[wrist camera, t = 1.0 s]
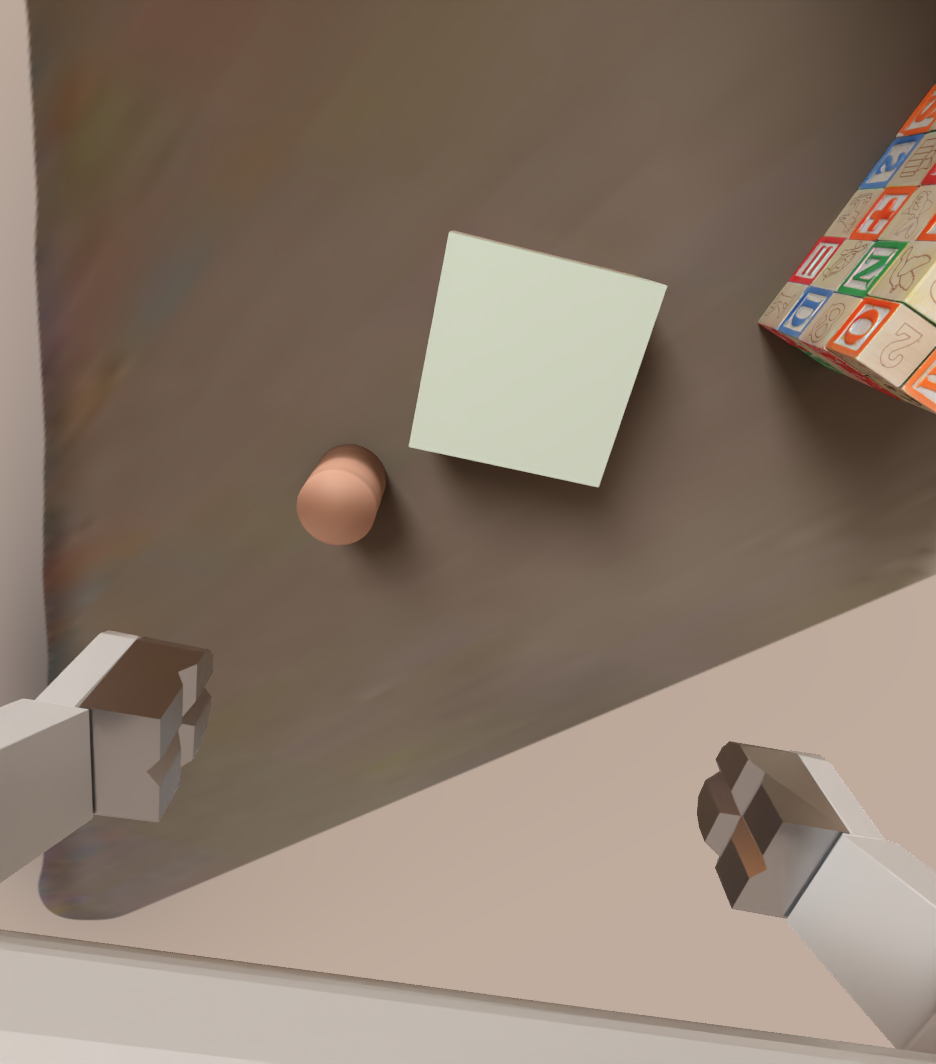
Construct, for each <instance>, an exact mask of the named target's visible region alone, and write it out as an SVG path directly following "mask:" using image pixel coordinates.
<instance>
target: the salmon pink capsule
mask: <svg viewBox="0 0 936 1064" xmlns="http://www.w3.org/2000/svg"><path fill="white" fill-rule="evenodd" d="M385 487H386V472H385V469H384V466H383V464H382V463H381V461H380V460H379V458H378V457H377V456H376V455H375V454H374V453H372V452H371V451H369V450H368V449H366V448H364V447H361V446H358V445H349V444H347V445H340V446H337V447H334V448H333V449H331V450H329V451H328V452H327V453H326V454H325V455H324V456H323V457H322V459H321V460H320V462H319V463H318V465H317V466H316V468H315V469H314V471H313V472H312V474H311V476H310V477H309V479H308V480H307V482H306V483H305V485H304V486H303V488H302V489H301V491H300V493H299V495H298V499H297V513H298V517H299V519H300V522H301V523H302V525H303V527H304V528H305V529H306V530H307V531H308V532H309V533H310V534H311V535H312V536H313V537H315V538H316V539H318V540H320V541H322V542H325V543H328V544H332V545H347V544H351V543H354V542H356V541H358V540H360V539H362V538H363V537H364V536H365V535H366V534H367V533H368V532H369V531H370V529H371V527H372V525H373V523H374V520H375V517H376V514H377V511H378V508H379V505H380V502H381V499H382V496H383V493H384V490H385Z"/></svg>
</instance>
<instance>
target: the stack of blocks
mask: <svg viewBox="0 0 936 1064" xmlns="http://www.w3.org/2000/svg"><path fill="white" fill-rule="evenodd" d="M758 324H760V325H761V326H763V327H764V328H766V329H767V330H769V331H770V332H772V333H773V334H775V335H776V336H778V337H780V338H781V339H783V340H784V341H786V342H787V343H789V344H790V345H793V346H795V347H796V348H798V349H799V350H801V351H802V352H804V353H805V354H807V355H808V356H810V357H811V358H813V359H814V360H816V361H817V362H819V363H820V364H822V365H823V366H824V367H826V368H828V369H831V370H833V371H835V372H838V373H840V374H843V375H845V376H848V377H850V378H852V379H855V380H857V381H859V382H861V383H864V384H866V385H868V386H870V387H872V388H875V389H876V390H878V391H880V392H882V393H885V394H888V395H890V396H892V397H895V398H897V399H898V400H901V401H903V402H909V403H911V404H913V405H916V406H918V407H920V408H923V409H925V410H927V411H930V412H932V413H934V414H936V84H935V85H934V86H933V87H932V88H931V89H930V91H929V92H928V93H927V95H926V96H925V97H924V99H923V100H922V101H921V103H920V104H919V105H918V107H917V108H916V109H915V111H914V112H913V113H912V115H911V116H910V117H909V119H908V120H907V121H906V123H905V124H904V125H903V127H902V128H901V129H900V131H899V132H898V133H897V135H896V139H895V140H894V141H893V142H892V144H891V145H890V146H889V147H888V149H887V150H886V152H885V153H884V154H883V156H882V157H881V158H880V160H879V161H878V162H877V164H876V165H875V166H874V168H873V169H872V171H871V172H870V173H869V175H868V176H867V177H866V179H865V180H864V181H863V183H862V184H861V185H860V187H859V189H858V191H857V192H856V193H855V194H854V195H853V197H852V198H851V199H850V201H849V202H848V203H847V205H846V206H845V207H844V209H843V210H842V212H841V213H840V214H839V216H838V217H837V218H836V220H835V221H834V222H833V224H832V225H831V226H830V228H829V229H828V231H827V232H826V233H825V235H824V236H823V237H821V238H820V240H819V241H818V242H817V244H816V245H815V246H814V247H813V249H812V250H811V252H810V253H809V254H808V256H807V257H806V258H805V260H804V261H803V262H802V264H801V265H800V266H799V268H798V269H797V270H796V272H795V273H794V274H793V276H792V277H791V278H790V280H789V282H788V283H787V284H786V285H785V286H784V287H783V289H782V290H781V291H780V293H779V294H778V295H777V297H776V298H775V299H774V301H773V302H772V303H771V305H770V306H769V307H768V309H767V310H766V311H765V313H764V314H763V315H762V317H761V318H760V319H759V321H758Z"/></svg>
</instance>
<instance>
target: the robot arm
mask: <svg viewBox="0 0 936 1064" xmlns="http://www.w3.org/2000/svg"><path fill="white" fill-rule="evenodd" d="M212 673H213V654H212V652H211V651H210V650H208V649H203V648H198V647H193V646H188V645H183V644H178V643H173V642H168V641H163V640H158V639H153V638H148V637H140V636H136V635H130V634H125V633H120V632H114V631H106V632H103V633H100V634H99V635H98V636H97V637H96V638H95V639H94V640H93V641H92V642H91V643H90V644H89V645H88V646H87V647H86V648H85V649H84V650H83V651H82V652H81V653H80V654H79V655H78V656H77V657H76V658H75V659H74V660H73V661H72V662H71V663H70V664H69V665H68V666H67V667H66V669H65V670H64V671H63V672H62V673H61V674H60V675H59V676H58V677H57V678H56V679H55V680H54V681H53V682H52V683H51V684H50V685H49V686H48V687H47V688H46V689H45V690H44V691H43V692H42V693H41V694H40V695H39V696H38V697H37V698H36V699H35V700H29V699H21V700H18V701H16V702H13V703H11V704H8V705H5V706H3V707H0V883H1V882H2V881H4V880H5V879H6V878H8V877H9V876H11V875H12V874H14V873H15V872H16V871H18V870H19V869H21V868H22V867H24V866H25V865H26V864H28V863H29V862H31V861H32V860H34V859H35V858H37V857H38V856H39V855H41V854H42V853H44V852H45V851H47V850H48V849H49V848H51V847H52V846H54V845H55V844H57V843H58V842H59V841H61V840H62V839H64V838H65V837H67V836H68V835H69V834H71V833H72V832H74V831H75V830H77V829H78V828H80V827H81V826H82V825H84V824H85V823H87V822H88V821H90V820H91V819H92V818H93V814H95V815H103V816H111V817H119V818H128V819H136V820H144V821H152V822H159V820H160V818H161V817H162V815H163V813H164V811H165V809H166V808H167V806H168V804H169V802H170V800H171V799H172V797H173V795H174V793H175V791H176V789H177V788H178V786H179V784H180V767H181V766H183V765H185V764H186V763H188V762H190V761H191V760H193V758H194V756H195V754H196V752H197V750H198V749H199V747H200V745H201V742H202V739H203V736H204V733H205V730H206V728H207V724H208V719H209V714H210V707H211V696H210V694H209V693H208V691H207V690H206V688H205V685H206V683H207V682H208V680H209V678H210V677H211V675H212ZM716 762H717V765H718V767H719V770H720V771H719V772H718V773H716V774H715V775H713V776H712V777H710V778H708V779H707V780H706V781H705V782H704V785H703V787H702V789H701V792H700V794H699V797H698V808H697V816H698V822H699V828H700V830H701V833H702V836H703V838H704V841H705V842H706V843H707V844H708V845H709V846H710V847H711V848H712V849H713V850H714V851H715V852H716V853H717V854H718V855H719V858H718V861H717V864H716V867H715V869H716V871H717V873H718V876H719V878H720V881H721V883H722V886H723V888H724V891H725V893H726V896H727V898H728V900H729V902H730V905H731V908H732V909H736V910H743V911H747V912H753V913H758V914H764V915H770V916H775V917H781V918H786V919H787V920H786V922H787V924H788V925H789V926H790V927H791V928H792V929H793V930H794V932H795V933H796V934H797V935H798V936H799V937H800V939H801V940H802V941H803V942H804V943H805V944H806V946H807V947H808V948H809V949H810V950H811V951H812V952H813V953H814V955H815V956H816V957H817V958H818V959H819V960H820V962H821V963H822V964H823V965H824V966H825V967H826V968H827V970H828V971H829V972H830V973H831V974H832V975H833V976H834V978H835V979H836V980H837V981H838V982H839V983H840V985H841V986H842V987H843V988H844V989H845V990H846V991H847V993H848V994H849V995H850V996H851V997H852V998H853V1000H854V1001H855V1002H856V1003H857V1004H858V1005H859V1006H860V1007H861V1009H862V1010H863V1011H864V1012H865V1013H866V1015H867V1016H868V1017H869V1018H870V1019H871V1020H872V1021H873V1023H874V1024H875V1025H876V1026H877V1027H878V1028H879V1029H880V1031H881V1032H882V1033H883V1034H884V1035H885V1036H886V1038H887V1039H888V1040H889V1041H890V1042H891V1043H892V1044H893V1046H894V1047H895V1048H896V1049H894V1048H886V1047H879V1046H872V1045H864V1044H857V1043H849V1042H842V1041H834V1040H827V1039H820V1038H812V1037H805V1036H796V1035H789V1034H782V1033H774V1032H767V1031H759V1030H751V1029H743V1028H736V1027H729V1026H721V1025H714V1024H706V1023H698V1022H691V1021H683V1020H675V1019H668V1018H660V1017H652V1016H645V1015H638V1014H630V1013H622V1012H615V1011H607V1010H600V1009H593V1008H584V1007H577V1006H570V1005H562V1004H555V1003H546V1002H540V1001H533V1000H525V999H518V998H510V997H502V996H495V995H487V994H480V993H473V992H466V991H458V990H450V989H443V988H436V987H427V986H421V985H413V984H406V983H398V982H391V981H383V980H376V979H368V978H361V977H353V976H346V975H338V974H331V973H323V972H316V971H308V970H301V969H293V968H286V967H278V966H270V965H263V964H255V963H248V962H241V961H233V960H225V959H218V958H211V957H202V956H195V955H188V954H180V953H173V952H166V951H158V950H150V949H142V948H135V947H128V946H120V945H113V944H105V943H98V942H90V941H83V940H75V939H68V938H60V937H52V936H45V935H37V934H30V933H23V932H15V931H8V930H0V1064H936V872H934V871H933V870H932V869H930V868H929V867H928V866H926V865H925V864H924V863H922V862H921V861H920V860H918V859H917V858H916V857H914V856H913V855H912V854H910V853H909V852H908V851H906V850H905V849H904V848H902V847H901V846H899V845H898V844H897V843H896V842H892V841H886V840H885V839H884V838H883V836H882V835H881V833H880V832H879V831H878V829H877V828H876V826H875V825H874V824H873V822H872V821H871V819H870V818H869V817H868V815H867V814H866V813H865V811H864V810H863V808H862V807H861V805H860V804H859V803H858V801H857V800H856V799H855V797H854V796H853V794H852V793H851V791H850V790H849V789H848V787H847V786H846V785H845V783H844V782H843V780H842V779H841V778H840V776H839V775H838V773H837V772H836V770H835V769H834V768H833V766H832V765H831V763H830V762H829V761H828V760H826V759H825V758H823V757H822V756H820V755H816V754H809V753H802V752H796V751H783V750H777V749H772V748H766V747H760V746H754V745H748V744H742V743H736V742H728V743H727V744H726V745H725V746H723V747H722V749H721V751H720V753H719V754H718V756H717V758H716Z"/></svg>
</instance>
